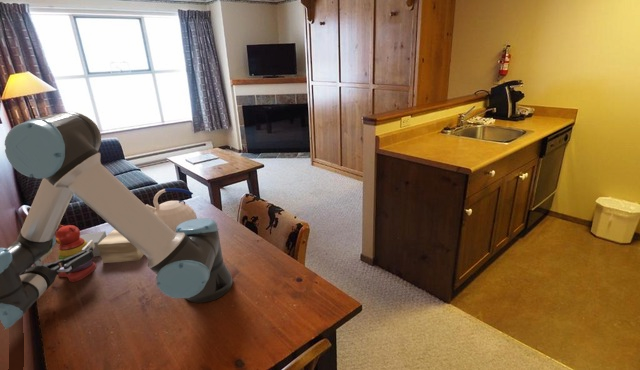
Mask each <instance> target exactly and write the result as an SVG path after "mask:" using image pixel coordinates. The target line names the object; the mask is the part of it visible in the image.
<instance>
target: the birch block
mask: <svg viewBox="0 0 640 370" xmlns="http://www.w3.org/2000/svg"><path fill="white" fill-rule="evenodd" d="M97 245H98V248H99V251H100V254H101V256H100V257H101V260H102V263H103V264H108V263H109V264H110V263H122V262H123V263H124V262H135V261H136V262H137V261H140V260H141V259H142V258H143V256H145V255H144V254H143V253H142V252H141V251H140V250H139V249H137V248H136V247H135V246H134V245H133V244H132V243H130V242H129V241H128V240H127V239H126V238H125V237H124V236H122V235H121V234H120V233H119V232H118V231H117V230H115V229H114V228H113V230H112V231H111V232H109V233H108V234H106V237H105V238H104V239H103V240H102V241H101V242H100V243H99V244H97Z"/></svg>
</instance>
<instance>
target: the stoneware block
mask: <svg viewBox="0 0 640 370" xmlns="http://www.w3.org/2000/svg"><path fill="white" fill-rule="evenodd" d="M106 236H107V233H106V230H105V231H99V232H98V231H97V232H91V233H86V234H85V233H84V234H80V238H82V239H84V240H85V241H86V242H87V243H88V242H89V241H90V240H93V242H94V245H95V247H94V249H93V251H92V252H93V255H94V257H93V258H96V257H99V256H100V257H101V254H100V251H99V248H98V245H97V244H99V243H100V242H101V241H102V240H103V239H104V238H105V237H106Z"/></svg>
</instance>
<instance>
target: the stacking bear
mask: <svg viewBox="0 0 640 370" xmlns="http://www.w3.org/2000/svg"><path fill="white" fill-rule="evenodd" d="M54 235H55V238H56V244H58V250H57V252H58V260H60V259H63V260H64V259H66V258H68V257H70V256H73V255H75V254H77V253H79V252H82V249H83V248H84V247H85V246H86V245H87V244H88V243H87V242H86V241H85V240H84V239H82V238H80V235H81V231H80V229H79V228H78V227H77V226H76V225H72V224H68V225H62V224H61V225H59V228H58V229H57V230H56V232H55V234H54ZM93 260H94V257H93V258H92V259H90V260H89V261H87V262H85V263H84V264H82V265H80V266H79V267H77V268H75V269H74V270H73V271H72V272H70V273H69V274H66V273H65V272H61V273H60V274H58V275H57V276H59V277H60V278H67V279H68V281H69V282H71V283H74V282H78V281H80V280H82V279H85V278H86V277H87V276H88V275H90V274H91V273H93V272H94V271H95V270H96V267H97V264H96V262H94V261H93Z"/></svg>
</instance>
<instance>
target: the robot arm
mask: <svg viewBox="0 0 640 370" xmlns="http://www.w3.org/2000/svg"><path fill="white" fill-rule="evenodd" d="M101 144H102V134H101V130H100V129H99V126H98V125H97V124H96V122H95V121H93V120H92V119H91V118H90V117H88V116H86V115H84V114H82V113H78V112H75V111H62V112H58V113H55V114H51V115H47V116H43V117H38V118H31V119H27V120H26V121H24V122H22V123H18V124H17V125H16V124H15V126H13V127H12V128H11V129H10V130H9V132H7V134H6V137H5V139H4V146H5V149H4V153H5V156H6V158H7V160H8V162H9V163H10V165H11V166H12V167H13V168H14V169H15V170H16V171H17V172H18V173H20V174H21V175H23V176H26V177H28V178H34V179H42V180H41V181H40V184H39V186H38V189H37V192H36V194H35V196H34V199H33V201H32V203H31V204H30V205H31V206H30V208H29V210H28V212H27V215H26V217H25V220H24V222H23V224H22V228H21V229H20V232H19V234H18V236H17V239H16V240H14V242H12V243H11V244H9V246H8V245H7V246H6V247H0V320H1V323H2V324H3V326H4V327H5V329H4V330H6V329H9V328H12V327H13V325H14V324H15V323H17V322H18V321H19V320H20V319H22V317H23V316H24V315H25V314H26V312H27V311H28V310H29V309H30V308H31V307H32V306H33V304H34V303H36V301H37V300H39V298H40V297H41V296H42V295H43V294H44V293H45V292H46V291H47V290H48V289H49V288H50V287H51V286H52V285H53V284H54V282H55V279H56V277H57V276H59V275H58V274H60V273H61V272H65V273H66V274H69V273H70V272H72V271H73V270H74V269H75V268H77V267H79V266H80V265H82V264H84V263H85V262H87V261H89V260H90V259H92V258H93V259H94V258H95V257H94V255H93V252H92V251H93V249H94V247H95V245H94V242H93V240H90V241H89V242H88V244H87V245H86V246H85V247H84V248H83V249H82V252H79V253H77V254H75V255H73V256H70V257H68V258H66V259H64V260H63V259H60V260H59V259H58V260H56V261H52V262H45V263H42V262H43V261H44V260H45V259H46V258H47V257H49V256H50V255H51V254H52V253H54V252H53V251H54V250H53V248H54V247H55V245H56V244H57V243H56V238H55V234H56V232H57V231H58V229H59V227H60V224H61V222H62V219H63V216H64V215H65V213H66V211H67V208H68V206H69V205H70V202H71V200H72V197H73V195H75V196H76V197H77V198H79V199H80V200H81V201H82V202H83V203H84V204H86V205H87V206H88V208H90V209H91V210H93V212H95V213H96V214H97V215H98V216H100V217H101V219H103V220H104V221H105V222H106V223H107V224H108V225H110V226H111V227H112V228H113V230H114V229H115V230H117V231H118V232H119V233H120V234H121V235H122V236H124V237H125V238H126V239H127V240H128V241H129V242H130V243H132V244H133V245H134V246H135V247H136V248H137V249H139V250H140V251H141V252H142V253H143V254H144V255H143V256H145V257H146V258H147V267H148V269H150V270H151V271H152V272H154V274H156V286H157V288H158V289H159V291H160V292H161V293H163V295H165V296H167V297H169V298H173V299H181V298H182V299H185V300H186V301H189V302H192V303H195V304H197V303H198V304H199V303H201V304H202V303H203V304H204V303H208V302H212V301H215V300H218V299H220V298H221V297H223V296H224V295H226V294H228V292H229V291H230V290H231V288H232V286H233V278H232V277H233V276H232V273H231V271H230V270H229V269H228V266H226V265H227V264H226V263H225V262H224V258H223V250H222V246H221V240H220V234H219V233H220V231H219V228H218V224H217V223H218V222H216V220H214V219H213V218H202V217H201V218H197V219H193V220H189V221H185V222H183V223H181V224H179V225H178V226H177V227H176V233H175V232H174V231H173V230H171V229H170V228H169V227H168V226H167V225H166V224H165V223H164V222H163V221H162V220H161V219H160V218H159V217H158V216H156V215H155V214H154V213H153V212H152V211H151V210H150V209H149V208H148V207H147V206H146V204H145V203H143V202H142V200H140V199H139V198H138V197H137V196H136V195H135V194H134V193H133V192H131V190H130V189H129V188H127V187H126V186H125V185H124V184H123V182H121V181H120V180H119V179H118V178H117V177H116V176H115V175H114V174H112V173H111V171H110V170H108V169H107V168H106V167H105V165H103V164H102V162H101V152H99V149H100V147H101Z"/></svg>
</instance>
